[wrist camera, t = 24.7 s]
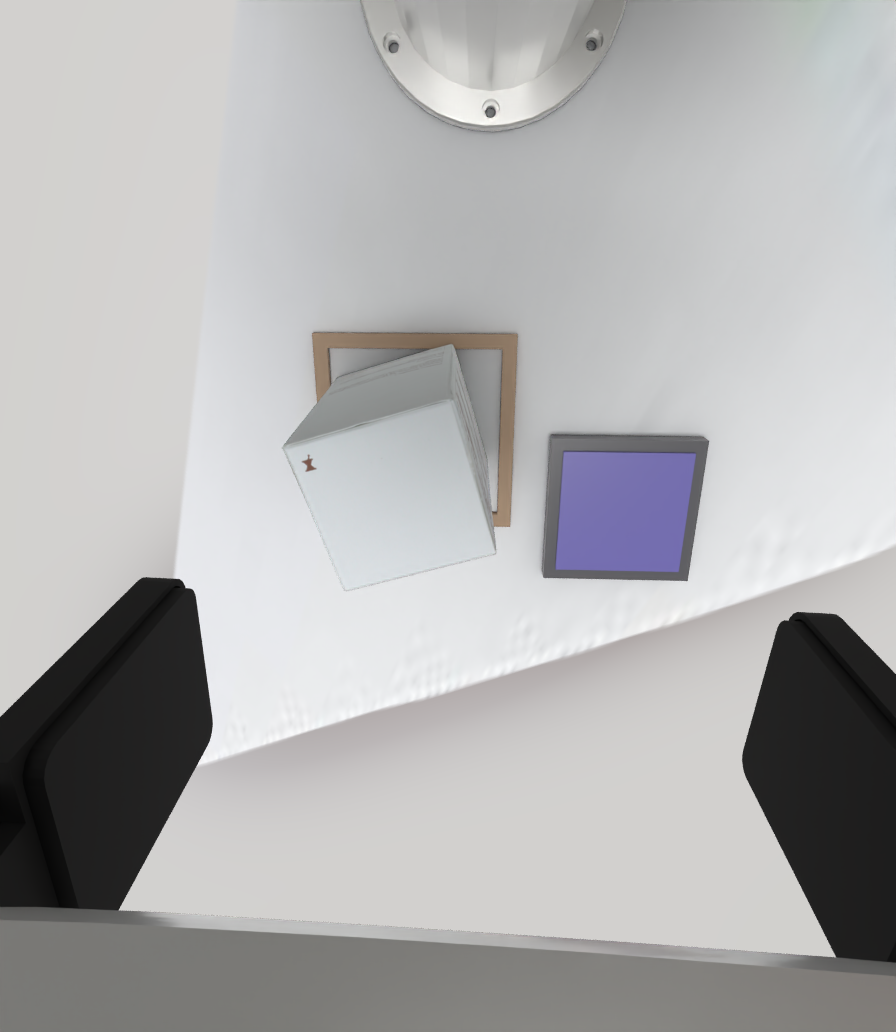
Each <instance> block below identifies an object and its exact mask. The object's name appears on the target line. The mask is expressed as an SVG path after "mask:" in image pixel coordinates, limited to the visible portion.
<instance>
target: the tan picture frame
mask: <svg viewBox="0 0 896 1032" xmlns="http://www.w3.org/2000/svg"><path fill="white" fill-rule="evenodd" d="M517 338H518V334H440V333H312V339H313V353H314V366H315V380H316V394H317V403H318V402H319V400H320V399H321V398H322V396H323V395H324V394H325V393H326V391H327V390H328V389H329V387H330V386H331V377H330V362H329V348H397V349H434V348H438V347H441V346H445V345H449V344H453V346H454V348H455V349H503V351H502V382H501V413H500V444H499V475H498V506H497V512H492V516H493V524H494V526H496V527H510V512H511V487H512V463H513V438H514V413H515V388H516V363H517Z"/></svg>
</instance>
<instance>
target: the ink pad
mask: <svg viewBox="0 0 896 1032" xmlns="http://www.w3.org/2000/svg"><path fill="white" fill-rule="evenodd" d="M708 445H709V441H708V440H707V439H706V438H704V437H678V436H599V435H550V447H549V463H548V479H547V495H546V512H545V528H544V544H543V560H542V574H543V578H577V579H623V580H670V581H688V574H689V568H690V561H691V555H692V548H693V542H694V536H695V529H696V523H697V516H698V510H699V503H700V497H701V490H702V484H703V477H704V471H705V464H706V458H707V451H708Z"/></svg>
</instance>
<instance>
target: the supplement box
mask: <svg viewBox="0 0 896 1032" xmlns="http://www.w3.org/2000/svg"><path fill="white" fill-rule="evenodd" d="M283 451H284V453H285V455H286V457H287V459H288V462H289V464H290V466H291V468H292V470H293V473H294V475H295V477H296V480H297V482H298V484H299V486H300V489H301V491H302V493H303V495H304V498H305V500H306V502H307V504H308V507H309V509H310V511H311V514H312V516H313V519H314V521H315V523H316V526H317V528H318V531H319V533H320V535H321V538H322V540H323V542H324V545H325V547H326V549H327V552H328V554H329V557H330V559H331V561H332V564H333V566H334V568H335V571H336V573H337V576H338V578H339V580H340V583H341V585H342V587H343V589H344V590H345V591H350V590H354V589H358V588H362V587H366V586H370V585H374V584H378V583H382V582H386V581H390V580H394V579H398V578H402V577H406V576H410V575H414V574H418V573H422V572H426V571H430V570H434V569H438V568H442V567H446V566H450V565H454V564H458V563H462V562H466V561H470V560H474V559H478V558H482V557H486V556H490V555H494V554H496V542H495V534H494V524H493V516H492V508H491V499H490V488H489V476H488V463H487V457H486V454H485V450H484V447H483V444H482V440H481V437H480V433H479V429H478V426H477V422H476V419H475V415H474V412H473V408H472V405H471V401H470V398H469V394H468V391H467V388H466V384H465V381H464V377H463V374H462V371H461V367H460V364H459V360H458V357H457V354H456V351H455V348H454V346H453V344H449V345H445V346H441V347H438V348H434V349H430V350H427V351H423V352H420V353H416V354H413V355H410V356H406V357H403V358H400V359H396V360H393V361H390V362H387V363H383V364H380V365H377V366H373V367H370V368H367V369H363V370H360V371H357V372H354V373H350V374H347V375H344V376H340V377H337V379H336V380H335V381H334V383H333V384H332V385H331V386H330V387H329V389H328V390H327V391H326V393H325V394H324V395H323V396H322V398H321V399H320V400H319V402H318V403H317V404H316V405H315V406H314V408H313V409H312V410H311V411H310V413H309V414H308V415H307V417H306V418H305V419H304V420H303V421H302V423H301V424H300V425H299V427H298V428H297V429H296V430H295V432H294V433H293V434H292V435H291V437H290V438H289V439H288V440H287V442H286V443H285V444H284V445H283Z"/></svg>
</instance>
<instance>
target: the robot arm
mask: <svg viewBox="0 0 896 1032" xmlns="http://www.w3.org/2000/svg"><path fill="white" fill-rule="evenodd" d="M626 2H627V0H361V6H362V10H363V13H364V17H365V20H366V24H367V28H368V31H369V34H370V37H371V39H372V41H373V44H374V46H375V48H376V51H377V53H378V54H379V56H380V58H381V60H382V62H383V63H384V65H385V67H386V69H387V70H388V72H389V74H390V76H391V77H392V78H393V79H394V81H395V82H396V83H397V84H398V85H399V87H400V88H401V89H402V90H403V91H404V93H405V94H406V95H407V96H408V97H409V98H410V99H411V100H413V101H414V102H415V103H416V104H418V105H419V106H420V107H421V108H422V109H424V110H425V111H426V112H427V113H429V114H431V115H433V116H435V117H437V118H439V119H441V120H443V121H444V122H446V123H448V124H451V125H455V126H458V127H462V128H466V129H469V130H476V131H501V130H507V129H513V128H519V127H522V126H524V125H527V124H529V123H532V122H534V121H537V120H539V119H542V118H544V117H545V116H547V115H548V114H550V113H551V112H553V111H555V110H556V109H558V108H559V107H561V106H562V105H564V104H565V103H566V102H567V101H568V100H569V99H570V98H571V97H572V96H573V95H574V94H575V93H576V92H578V91H579V90H580V89H581V88H582V87H583V86H584V85H585V83H586V82H587V81H588V79H589V78H590V76H591V75H592V74H593V72H594V71H595V70H596V68H597V67H598V66H599V64H600V63H601V61H602V60H603V58H604V56H605V55H606V53H607V51H608V49H609V47H610V46H611V44H612V41H613V39H614V36H615V34H616V32H617V29H618V27H619V24H620V22H621V19H622V17H623V14H624V10H625V6H626ZM590 40H592V41H594V42H595V43H596V49H595V50H593V51H590V50H588V49H587V46H586V43H587V42H588V41H590ZM391 43H397V44H398V45H399V48H398V51H397V52H395V53H391V52H390V51H389V46H390V45H391ZM490 107H491V108H493V109H494V110H495V112H496V114H495V116H494V117H492V118H488V117H487V116H486V114H485V111H486V110H487V108H490ZM212 726H213V721H212V712H211V705H210V698H209V690H208V683H207V676H206V668H205V661H204V654H203V646H202V639H201V632H200V624H199V617H198V610H197V602H196V596H195V593H194V591H193V590H192V589H188V588H185V585H184V583H183V582H182V581H181V580H180V579H167V578H147V577H146V578H141V579H140V580H139V581H138V582H136V583H135V584H134V585H133V586H132V587H131V588H130V589H129V590H128V592H127V593H125V594H124V595H123V596H122V597H121V598H120V599H119V600H118V601H117V602H116V603H115V604H114V605H113V606H112V607H111V608H110V609H109V610H108V611H107V612H106V613H105V614H104V615H103V616H102V617H101V618H100V619H99V620H98V621H97V622H96V623H95V624H94V625H93V626H92V627H91V628H90V629H89V630H88V631H87V632H86V633H85V634H84V635H83V636H82V637H81V638H80V639H79V640H78V641H77V642H76V643H75V644H74V645H73V646H72V647H71V648H70V649H69V650H68V651H67V652H66V653H65V654H64V655H63V656H62V657H61V658H59V659H58V661H56V662H55V664H53V665H52V666H51V667H50V668H49V670H47V671H46V672H45V673H44V674H43V675H42V676H41V677H40V678H39V679H38V680H37V681H36V682H35V683H34V684H33V685H32V686H31V687H30V688H29V689H28V690H27V691H26V692H25V693H24V694H23V695H22V696H21V697H20V698H19V699H18V700H17V701H16V702H15V703H14V704H13V705H12V706H11V707H10V708H9V709H8V710H7V711H6V712H5V713H4V714H3V715H2V716H1V717H0V1032H896V674H895V673H894V672H893V671H892V670H891V669H890V668H889V667H888V666H887V665H886V664H885V663H884V662H883V661H882V660H881V659H880V657H878V655H876V653H875V652H874V651H873V650H872V649H871V648H870V647H869V646H868V645H867V644H866V643H865V642H864V641H863V640H862V639H861V638H860V637H859V636H858V635H857V634H856V633H855V632H854V631H853V630H852V629H851V628H850V627H849V626H848V625H847V624H846V622H845V621H844V620H843V619H842V618H840V617H839V616H837V615H835V614H825V613H824V614H823V613H805V612H796V613H794V614H793V615H792V616H791V617H790V619H789V621H785V620H784V621H782V622H781V623H780V624H779V626H778V628H777V631H776V635H775V639H774V642H773V646H772V650H771V653H770V656H769V660H768V664H767V667H766V671H765V674H764V678H763V682H762V685H761V689H760V692H759V696H758V699H757V703H756V707H755V711H754V714H753V718H752V721H751V725H750V728H749V732H748V735H747V739H746V743H745V746H744V750H743V755H742V762H743V769H744V773H745V776H746V778H747V780H748V782H749V784H750V786H751V788H752V790H753V792H754V794H755V796H756V798H757V800H758V802H759V804H760V806H761V808H762V810H763V812H764V814H765V816H766V818H767V820H768V822H769V824H770V826H771V828H772V830H773V832H774V834H775V836H776V838H777V840H778V842H779V844H780V846H781V848H782V850H783V852H784V854H785V856H786V858H787V860H788V862H789V864H790V866H791V868H792V870H793V871H794V874H795V876H796V878H797V880H798V882H799V884H800V886H801V888H802V890H803V892H804V894H805V896H806V898H807V900H808V902H809V904H810V906H811V908H812V910H813V912H814V914H815V916H816V918H817V920H818V922H819V924H820V926H821V928H822V930H823V932H824V934H825V936H826V937H827V940H828V942H829V944H830V945H831V948H832V950H833V952H834V953H835V955H836V958H834V957H822V956H808V955H793V954H781V953H767V952H753V951H740V950H726V949H712V948H698V947H684V946H670V945H657V944H643V943H630V942H616V941H601V940H586V939H572V938H556V937H541V936H527V935H513V934H498V933H483V932H468V931H467V932H466V931H453V930H437V929H422V928H407V927H392V926H377V925H361V924H344V923H328V922H312V921H296V920H280V919H263V918H247V917H230V916H214V915H197V914H181V913H164V912H141V911H118V910H119V908H120V906H121V905H122V903H123V901H124V899H125V897H126V895H127V893H128V892H129V890H130V888H131V886H132V884H133V882H134V881H135V879H136V877H137V875H138V873H139V871H140V869H141V868H142V866H143V864H144V862H145V860H146V858H147V856H148V855H149V853H150V851H151V849H152V847H153V845H154V843H155V841H156V840H157V838H158V836H159V834H160V832H161V831H162V828H163V827H164V825H165V823H166V821H167V820H168V818H169V815H170V814H171V812H172V810H173V808H174V807H175V805H176V803H177V801H178V799H179V797H180V795H181V794H182V792H183V790H184V788H185V786H186V784H187V783H188V781H189V779H190V777H191V775H192V773H193V771H194V770H195V768H196V766H197V764H198V762H199V760H200V759H201V757H202V755H203V753H204V751H205V749H206V747H207V746H208V743H209V741H210V738H211V734H212Z"/></svg>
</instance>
